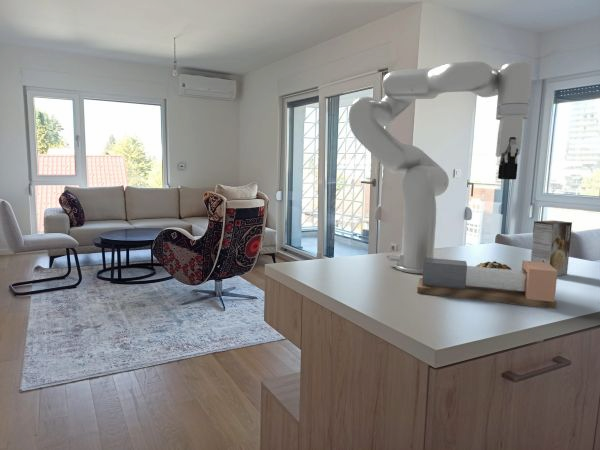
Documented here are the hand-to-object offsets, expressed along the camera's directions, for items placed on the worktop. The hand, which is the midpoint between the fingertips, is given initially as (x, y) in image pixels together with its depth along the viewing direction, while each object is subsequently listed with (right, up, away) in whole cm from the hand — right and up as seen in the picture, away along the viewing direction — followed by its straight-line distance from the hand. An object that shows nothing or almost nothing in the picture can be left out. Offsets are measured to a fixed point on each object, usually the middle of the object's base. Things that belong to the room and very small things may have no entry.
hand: (506, 179), depth 112 cm
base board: (-10, -29, -8) cm, 32 cm away
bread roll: (+3, -27, +14) cm, 31 cm away
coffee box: (+21, -27, +17) cm, 38 cm away
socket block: (+1, -29, -12) cm, 31 cm away
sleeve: (-19, -27, -5) cm, 33 cm away
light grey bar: (-7, -27, -10) cm, 29 cm away
